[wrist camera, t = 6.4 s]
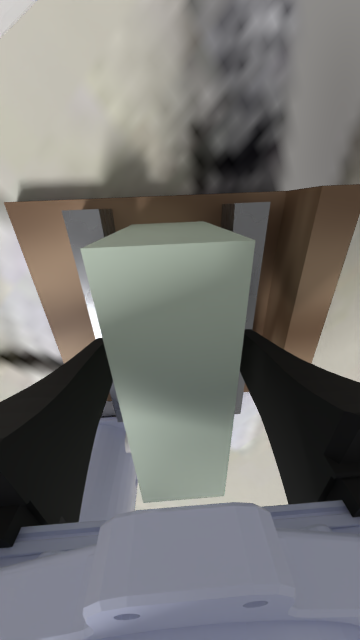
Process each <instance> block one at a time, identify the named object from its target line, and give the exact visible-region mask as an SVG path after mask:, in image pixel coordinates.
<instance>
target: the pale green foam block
mask: <svg viewBox="0 0 360 640" xmlns="http://www.w3.org/2000/svg"><path fill="white" fill-rule="evenodd" d="M254 248H255V240H253V239H251V238H248V237H245V236H243V235H240V234H237V233H234V232H232V231H229V230H226V229H223V228H221V227H218V226H215V225H212V224H210V223H207V222H204V221H198V222H176V223H154V224H132V225H130V226H128V227H126V228H124V229H121V230H119V231H117V232H115V233H113V234H111V235H108V236H106V237H104V238H102V239H100V240H98V241H96V242H93V243H91V244H89V245H87V246H85V247H83V248H80V250H81V254H82V258H83V262H84V266H85V270H86V274H87V278H88V282H89V286H90V290H91V294H92V298H93V302H94V306H95V310H96V314H97V318H98V322H99V326H100V330H101V334H102V338H103V342H104V346H105V350H106V354H107V358H108V362H109V366H110V370H111V374H112V378H113V382H114V386H115V390H116V394H117V398H118V402H119V406H120V410H121V414H122V418H123V423H124V427H125V431H126V434H125V450H126V453H131V455H132V459H133V463H134V467H135V471H136V475H137V479H138V483H139V487H140V491H141V495H142V499H143V503H147V502H159V501H171V500H183V499H195V498H207V497H219V496H224V494H225V486H226V478H227V469H228V461H229V453H230V445H231V437H232V428H233V420H234V412H235V404H236V396H237V387H238V379H239V371H240V363H241V355H242V347H243V338H244V330H245V322H246V314H247V306H248V297H249V289H250V281H251V273H252V265H253V257H254Z"/></svg>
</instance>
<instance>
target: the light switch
mask: <svg viewBox="0 0 360 640" xmlns="http://www.w3.org/2000/svg"><path fill="white" fill-rule="evenodd" d="M36 1H37V0H0V38H1V37H2V36H3V35H4V34H5V33H6V32H7V31H8V30H9V29H10V28H11V27H12V26H13V25H14V24H15V23H16V22H17V21H18V20H19V19H20V18H21V17H22V16H23V15H24V14H25V13H26V12H27V11H28V10H29V8H30V7H31V6H32V5H33V4H34V3H35V2H36Z"/></svg>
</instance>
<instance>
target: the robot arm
mask: <svg viewBox="0 0 360 640" xmlns="http://www.w3.org/2000/svg"><path fill="white" fill-rule="evenodd" d="M240 372H241V375H242V377H243V380H244V382H245V384H246V386H247V388H248V390H249V392H250V394H251V396H252V399H253V401H254V403H255V405H256V407H257V409H258V411H259V414H260V416H261V418H262V421H263V424H264V427H265V430H266V433H267V435H268V438H269V441H270V444H271V447H272V450H273V453H274V456H275V460H276V463H277V466H278V469H279V473H280V476H281V479H282V483H283V486H284V490H285V493H286V497H287V500H288V504H289V505H277V506H265V507H260V506H258V505H255V504H253V503H237V502H231V503H219V504H207V505H195V506H183V507H171V508H159V509H147V510H136V511H135V503H136V494H137V485H138V479H137V475H136V471H135V467H134V463H133V459H132V455H131V453H126V450H125V434H126V431H125V427H124V423H123V422H118V421H117V417H108V418H101V415H102V412H103V409H104V406H105V404H106V401H107V398H108V395H109V392H110V389H111V386H112V383H113V378H112V374H111V370H110V366H109V362H108V358H107V354H106V350H105V346H104V342H103V338H97V339H95V340H94V341H93V342H91V343H90V344H89V345H88V346H86V347H85V348H84V349H83V350H81V351H80V352H79V353H78V354H76V355H75V356H74V357H73V358H71V359H70V360H69V361H67V362H66V363H65V364H63V365H62V366H60V367H59V368H58V369H56V370H55V371H54V372H52V373H51V374H49V375H48V376H46V377H45V378H43V379H41V380H40V381H38V382H36V383H35V384H33V385H31V386H30V387H28V388H26V389H24V390H22V391H20V392H19V393H17V394H15V395H13V396H11V397H9V398H7V399H5V400H3V401H1V402H0V640H360V383H359V382H356V381H353V380H350V379H348V378H345V377H342V376H339V375H337V374H334V373H332V372H329V371H326V370H324V369H322V368H319V367H317V366H315V365H313V364H311V363H309V362H306V361H304V360H302V359H300V358H298V357H297V356H295V355H293V354H291V353H289V352H287V351H286V350H284V349H282V348H281V347H279V346H277V345H276V344H274V343H272V342H271V341H269V340H268V339H266V338H265V337H263V336H262V335H260V334H258V333H257V332H255V331H253V330H252V329H245V330H244V338H243V347H242V355H241V363H240Z"/></svg>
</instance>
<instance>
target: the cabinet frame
mask: <svg viewBox="0 0 360 640" xmlns="http://www.w3.org/2000/svg"><path fill="white" fill-rule="evenodd" d="M4 204H5V207H6V210H7V212H8V215H9V218H10V220H11V223H12V226H13V228H14V231H15V234H16V236H17V239H18V242H19V244H20V247H21V250H22V252H23V255H24V258H25V260H26V263H27V266H28V268H29V271H30V274H31V276H32V279H33V282H34V284H35V287H36V290H37V292H38V295H39V298H40V300H41V303H42V306H43V308H44V311H45V314H46V316H47V319H48V322H49V325H50V327H51V330H52V333H53V335H54V338H55V341H56V343H57V346H58V349H59V351H60V354H61V357H62V359H63V362H64V364H65V363H66V362H67V361H69V360H70V359H71V358H73V357H74V356H75V355H76V354H78V353H79V352H80V351H81V350H83V349H84V348H85V347H86V346H88V345H89V344H90V343H91V342H93V341H94V340H95V339H97V338H102V334H101V330H100V326H99V322H98V318H97V314H96V310H95V306H94V302H93V298H92V294H91V290H90V286H89V282H88V278H87V274H86V270H85V266H84V262H83V258H82V254H81V250H80V248H83V247H85V246H87V245H89V244H91V243H93V242H96V241H98V240H100V239H102V238H104V237H106V236H108V235H111V234H113V233H115V232H117V231H119V230H121V229H124V228H126V227H128V226H130V225H132V224H154V223H176V222H198V221H204V222H207V223H210V224H212V225H215V226H218V227H221V228H223V229H226V230H229V231H232V232H234V233H237V234H240V235H243V236H245V237H248V238H251V239H253V240H255V248H254V257H253V265H252V273H251V281H250V289H249V297H248V306H247V314H246V322H245V329H252V330H253V331H255V332H257V333H258V334H260V335H262V336H263V337H265V338H266V339H268V340H269V341H271V342H272V343H274V344H276V345H277V346H279V347H281V348H282V349H284V350H286V351H287V352H289V353H291V354H293V355H295V356H297V357H298V358H300V359H302V360H304V361H306V362H309V363H312V360H313V357H314V354H315V351H316V347H317V344H318V341H319V338H320V335H321V332H322V329H323V326H324V323H325V320H326V317H327V313H328V310H329V307H330V304H331V301H332V298H333V295H334V292H335V289H336V286H337V282H338V279H339V276H340V273H341V270H342V267H343V264H344V261H345V258H346V255H347V251H348V248H349V245H350V242H351V239H352V236H353V233H354V230H355V227H356V224H357V221H358V217H359V214H360V184H356V185H331V186H319V187H311V188H304V189H297V190H290V191H274V192H249V193H225V194H200V195H175V196H150V197H126V198H101V199H76V200H51V201H27V202H4ZM243 392H249V390H248V388H247V386H246V384H245V382H244V380H243V377H242V375H241V372H240V371H239V379H238V387H237V396H236V404H235V412H234V414H240V412H241V405H242V398H243ZM107 401H112V402H113V406H114V410H115V413H116V417H117V421H118V422H123V418H122V414H121V410H120V406H119V402H118V398H117V394H116V390H115V386H114V382H113V383H112V386H111V389H110V392H109V395H108V398H107Z"/></svg>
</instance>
